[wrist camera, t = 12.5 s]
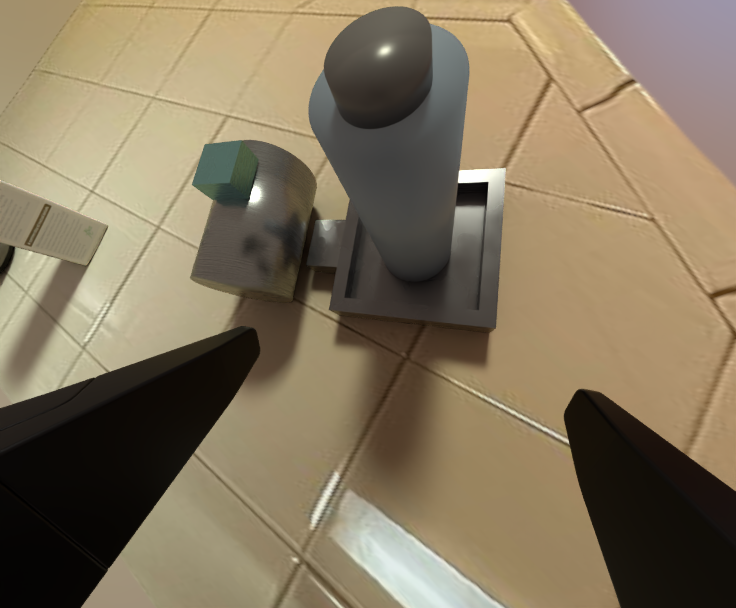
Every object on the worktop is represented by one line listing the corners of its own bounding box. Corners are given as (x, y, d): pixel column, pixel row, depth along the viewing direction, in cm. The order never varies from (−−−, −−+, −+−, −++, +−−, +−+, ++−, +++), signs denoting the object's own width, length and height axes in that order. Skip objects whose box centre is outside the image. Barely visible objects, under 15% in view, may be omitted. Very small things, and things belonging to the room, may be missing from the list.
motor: (489, 332, 18) (527, 305, 10) (239, 303, 24) (139, 272, 16) (499, 189, 20) (536, 70, 12) (267, 196, 26) (190, 122, 18)
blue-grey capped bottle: (447, 283, 18) (465, 117, 6) (378, 279, 20) (276, 137, 7) (453, 218, 19) (480, -44, 7) (387, 218, 20) (309, 2, 8)
